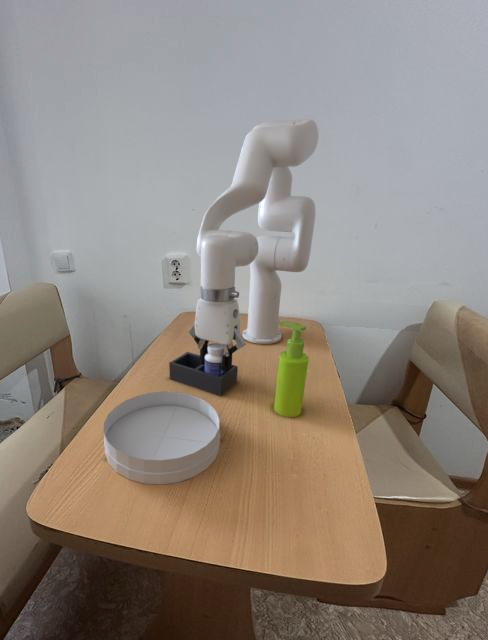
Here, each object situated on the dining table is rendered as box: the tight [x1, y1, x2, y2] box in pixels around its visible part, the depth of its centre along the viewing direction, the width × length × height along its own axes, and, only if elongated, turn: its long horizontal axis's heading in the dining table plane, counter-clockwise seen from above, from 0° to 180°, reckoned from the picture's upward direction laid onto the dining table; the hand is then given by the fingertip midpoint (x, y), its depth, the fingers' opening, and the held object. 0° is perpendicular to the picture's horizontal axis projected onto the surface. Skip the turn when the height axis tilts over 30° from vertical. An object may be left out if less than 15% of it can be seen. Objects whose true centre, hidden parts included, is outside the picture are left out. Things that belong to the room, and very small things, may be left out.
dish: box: [103, 391, 221, 486], centre depth 71 cm, size 22×22×5 cm
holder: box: [168, 351, 239, 397], centre depth 94 cm, size 8×15×5 cm, turn 56°
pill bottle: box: [205, 342, 226, 377], centre depth 90 cm, size 5×5×9 cm
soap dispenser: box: [273, 320, 309, 418], centre depth 79 cm, size 6×7×20 cm
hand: (215, 365), depth 91 cm, fingers closed on pill bottle, 5 cm apart
